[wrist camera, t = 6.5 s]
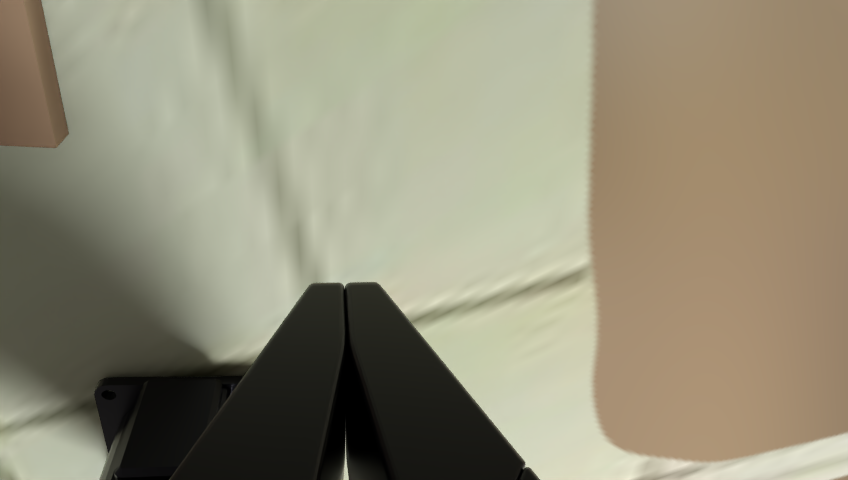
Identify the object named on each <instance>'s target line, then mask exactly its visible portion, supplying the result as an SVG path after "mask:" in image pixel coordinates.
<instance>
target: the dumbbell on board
mask: <svg viewBox="0 0 848 480" xmlns="http://www.w3.org/2000/svg"><path fill="white" fill-rule="evenodd" d="M68 134H69V133H68V128H67V123H66V118H65V113H64V109H63V104H62V99H61V94H60V89H59V84H58V80H57V75H56V70H55V65H54V60H53V55H52V51H51V46H50V41H49V36H48V31H47V27H46V22H45V17H44V12H43V7H42V2H41V0H0V145H3V146H25V147H46V148H57V147H58V145H59V144H60V143H61V142H62V141H63V140H64V138H65V137H66V136H67V135H68Z"/></svg>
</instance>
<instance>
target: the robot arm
mask: <svg viewBox="0 0 848 480" xmlns="http://www.w3.org/2000/svg"><path fill="white" fill-rule="evenodd" d="M108 390H110V391H113V392H110V391H108ZM94 395H95V400H96V404H97V408H98V412H99V416H100V420H101V424H102V429H103V433H104V437H105V441H106V445H107V449H108V453H109V454H108V457H107V460H106V463H105V465H104V468H103V471H102V474H101V477H100V480H343V477H344V464H345V431H346V457H347V467H348V476H349V480H540V479H539V478H538V477H537V476H536V474H535V473H534V472H533V471H532V469H531V468H529V467H526V468H525V462H524V460H523V459H522V458H521V456H520V455H519V454H518V453H517V452H516V450H515V449H514V448H513V447H512V445H511V444H510V443H509V442H508V441H507V439H506V438H505V437H504V436H503V434H502V433H501V432H500V431H499V430H498V428H497V427H496V426H495V425H494V423H493V422H492V421H491V420H490V419H489V417H488V416H487V415H486V414H485V413H484V411H483V410H482V409H481V408H480V406H479V405H478V404H477V403H476V402H475V400H474V399H473V398H472V397H471V395H470V394H469V393H468V392H467V391H466V389H465V388H464V387H463V386H462V384H461V383H460V382H459V381H458V380H457V378H456V377H455V376H454V375H453V373H452V372H451V371H450V370H449V369H448V367H447V366H446V365H445V364H444V362H443V361H442V360H441V359H440V358H439V356H438V355H437V354H436V353H435V352H434V350H433V349H432V348H431V347H430V345H429V344H428V343H427V342H426V341H425V339H424V338H423V337H422V336H421V334H420V333H419V332H418V331H417V330H416V328H415V327H414V326H413V325H412V323H411V322H410V321H409V320H408V319H407V317H406V316H405V315H404V314H403V312H402V311H401V310H400V309H399V308H398V306H397V305H396V304H395V303H394V301H393V300H392V299H391V298H390V297H389V295H388V294H387V293H386V292H385V290H384V289H383V288H382V287H381V286H380V285H379V284H378V283H376V282H353V283H348V284H347V285H346V286H345V289H344V286H343V284H341V283H313V284H311V285H309V287H308V288H307V289H306V291H305V292H304V293H303V295H302V296H301V297H300V299H299V300H298V302H297V303H296V304H295V306H294V307H293V309H292V310H291V311H290V313H289V314H288V316H287V317H286V318H285V320H284V321H283V322H282V324H281V325H280V327H279V328H278V329H277V331H276V332H275V334H274V335H273V336H272V338H271V339H270V340H269V342H268V343H267V345H266V346H265V347H264V349H263V350H262V352H261V353H260V354H259V356H258V357H257V359H256V360H255V361H254V363H253V364H252V365H251V367H250V368H249V370H248V371H247V372H246V374H245V375H244V376H217V377H117V378H104V379H102V380H100V382H99V383H98V385H97V387H96V390H95V394H94Z"/></svg>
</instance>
